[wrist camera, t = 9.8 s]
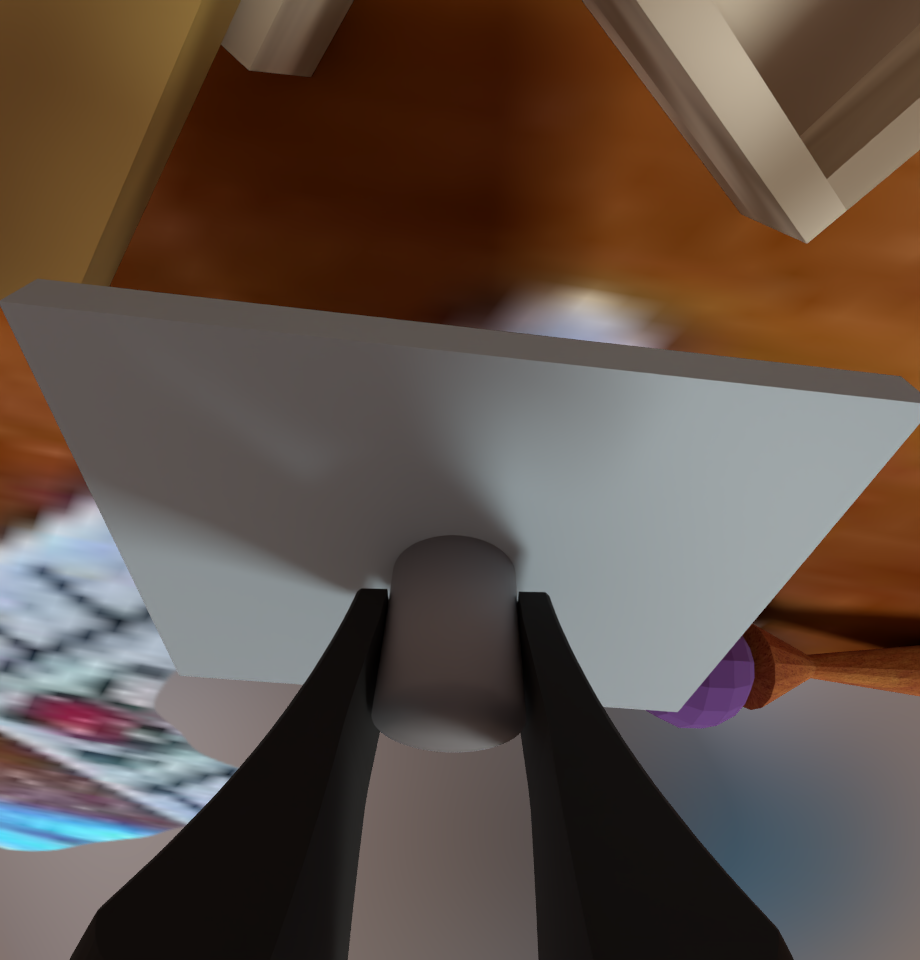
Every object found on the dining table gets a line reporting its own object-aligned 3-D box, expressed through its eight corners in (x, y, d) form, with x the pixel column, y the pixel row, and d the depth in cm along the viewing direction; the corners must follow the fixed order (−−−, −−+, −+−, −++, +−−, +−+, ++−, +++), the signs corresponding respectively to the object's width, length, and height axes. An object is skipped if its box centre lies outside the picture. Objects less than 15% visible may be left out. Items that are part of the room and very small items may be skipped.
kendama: (968, 750, 28) (617, 743, 25) (902, 645, 32) (592, 629, 29) (1082, 712, 24) (673, 699, 21) (989, 595, 28) (635, 572, 25)
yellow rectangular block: (299, -127, 9) (271, -163, 8) (95, 317, 13) (57, 339, 12) (119, -330, 8) (52, -411, 6) (-36, 232, 12) (-93, 246, 11)
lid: (870, 351, 11) (1117, 555, 7) (661, 656, 19) (714, 836, 15) (70, 259, 10) (-220, 427, 6) (204, 620, 18) (122, 801, 14)
